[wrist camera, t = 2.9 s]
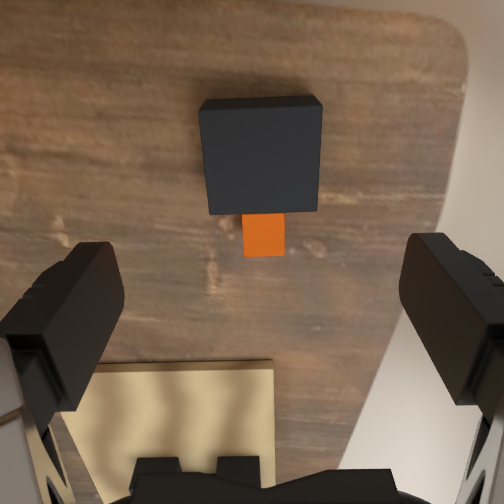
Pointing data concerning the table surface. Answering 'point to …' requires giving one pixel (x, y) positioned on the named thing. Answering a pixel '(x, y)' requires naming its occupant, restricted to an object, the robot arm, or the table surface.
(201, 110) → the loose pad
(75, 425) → the board
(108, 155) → the table surface
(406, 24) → the table surface
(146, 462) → the dark grey u-shaped block
